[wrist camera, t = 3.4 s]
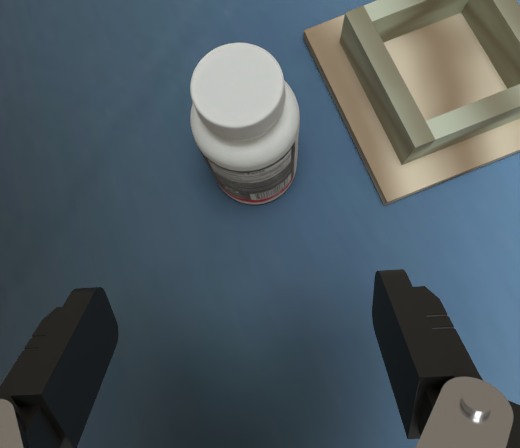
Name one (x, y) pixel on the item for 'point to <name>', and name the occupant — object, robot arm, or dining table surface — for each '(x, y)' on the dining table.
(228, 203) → the dining table surface
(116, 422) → the dining table surface
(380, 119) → the holder
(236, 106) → the pill bottle
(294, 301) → the dining table surface
